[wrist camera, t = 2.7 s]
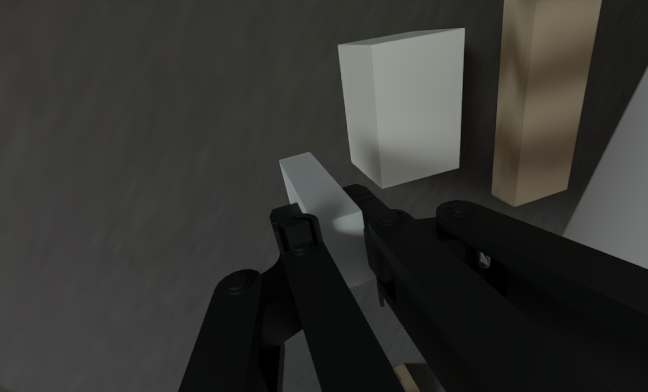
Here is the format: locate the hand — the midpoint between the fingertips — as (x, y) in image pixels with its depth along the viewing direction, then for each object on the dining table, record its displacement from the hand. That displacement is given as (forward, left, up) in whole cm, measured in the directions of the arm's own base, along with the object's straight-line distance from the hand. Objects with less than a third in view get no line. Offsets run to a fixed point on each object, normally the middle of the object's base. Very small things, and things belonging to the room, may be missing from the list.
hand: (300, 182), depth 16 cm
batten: (0, +23, -10) cm, 25 cm away
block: (0, +9, -10) cm, 14 cm away
